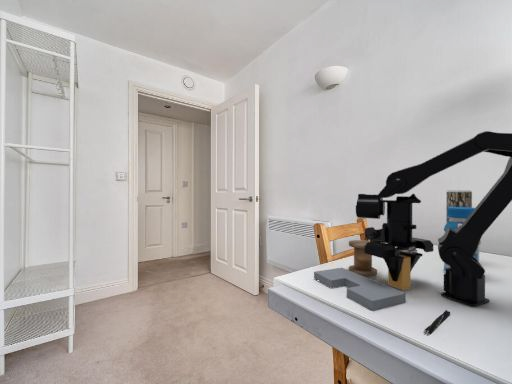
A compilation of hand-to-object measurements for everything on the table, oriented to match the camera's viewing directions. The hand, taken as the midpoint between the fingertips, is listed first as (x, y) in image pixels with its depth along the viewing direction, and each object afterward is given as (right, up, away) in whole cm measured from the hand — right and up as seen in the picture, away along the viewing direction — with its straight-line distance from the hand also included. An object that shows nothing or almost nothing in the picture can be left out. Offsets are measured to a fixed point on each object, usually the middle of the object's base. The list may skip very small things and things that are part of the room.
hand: (399, 280), depth 64 cm
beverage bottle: (+23, -2, +9) cm, 25 cm away
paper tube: (+33, -2, +21) cm, 40 cm away
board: (-12, -2, -2) cm, 13 cm away
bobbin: (-5, -2, +11) cm, 12 cm away
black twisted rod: (-3, -2, -18) cm, 18 cm away
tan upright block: (0, -2, 0) cm, 2 cm away
